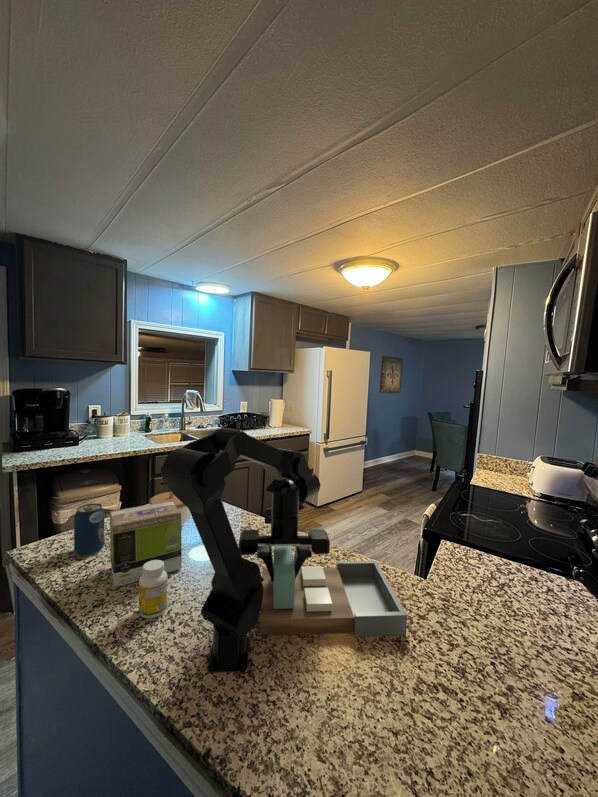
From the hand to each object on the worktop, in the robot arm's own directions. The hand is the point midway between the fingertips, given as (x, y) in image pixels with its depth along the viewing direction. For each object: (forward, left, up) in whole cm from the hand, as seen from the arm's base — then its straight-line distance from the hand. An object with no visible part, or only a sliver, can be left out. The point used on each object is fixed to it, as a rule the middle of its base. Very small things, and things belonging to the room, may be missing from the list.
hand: (283, 580), depth 71 cm
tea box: (+14, +34, -6) cm, 37 cm away
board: (0, -4, -5) cm, 7 cm away
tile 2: (-4, -7, -2) cm, 8 cm away
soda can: (+23, +52, -6) cm, 57 cm away
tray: (0, -18, -5) cm, 19 cm away
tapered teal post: (0, 0, -2) cm, 2 cm away
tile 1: (+4, -7, -2) cm, 8 cm away
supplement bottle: (-1, +27, -6) cm, 27 cm away
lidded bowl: (+38, +35, -6) cm, 52 cm away
